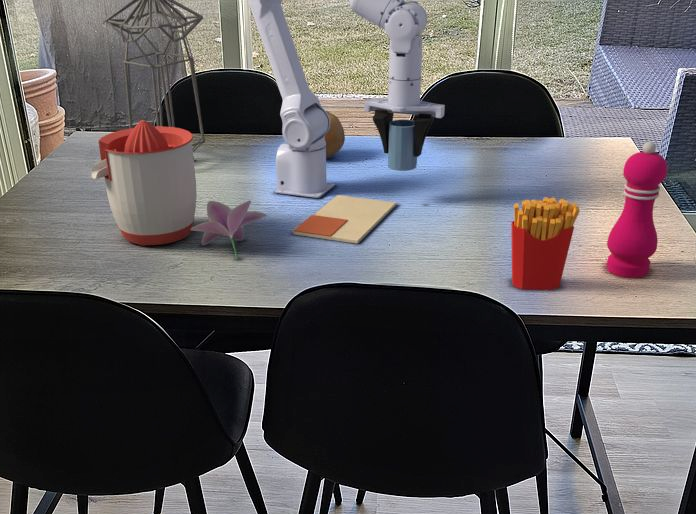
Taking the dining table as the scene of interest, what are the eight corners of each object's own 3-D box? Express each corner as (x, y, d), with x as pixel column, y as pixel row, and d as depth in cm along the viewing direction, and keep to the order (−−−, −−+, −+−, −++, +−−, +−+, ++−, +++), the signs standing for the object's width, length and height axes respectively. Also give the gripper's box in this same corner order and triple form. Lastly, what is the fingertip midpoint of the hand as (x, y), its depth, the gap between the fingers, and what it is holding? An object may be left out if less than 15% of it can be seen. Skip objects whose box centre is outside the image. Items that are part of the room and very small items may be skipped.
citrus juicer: (95, 228, 149) (75, 116, 138) (189, 213, 154) (177, 104, 144) (112, 260, 136) (92, 139, 126) (213, 242, 142) (202, 125, 132)
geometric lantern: (169, 149, 191) (150, -17, 173) (220, 159, 183) (206, -13, 165) (118, 166, 180) (92, -9, 162) (170, 179, 172) (149, -4, 154)
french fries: (507, 289, 124) (516, 206, 117) (504, 277, 127) (512, 196, 121) (570, 290, 123) (582, 206, 116) (565, 278, 126) (577, 196, 120)
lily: (279, 249, 141) (262, 194, 141) (262, 248, 130) (245, 189, 129) (214, 269, 144) (198, 215, 143) (192, 270, 132) (175, 212, 131)
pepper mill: (596, 261, 132) (615, 136, 121) (640, 259, 132) (663, 133, 122) (613, 280, 125) (636, 150, 115) (659, 278, 126) (686, 147, 116)
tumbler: (384, 169, 153) (384, 125, 149) (393, 160, 157) (394, 118, 153) (411, 172, 151) (413, 128, 147) (420, 163, 155) (422, 120, 151)
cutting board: (293, 234, 144) (293, 230, 144) (337, 197, 160) (337, 193, 159) (357, 243, 140) (357, 239, 139) (396, 205, 156) (396, 201, 155)
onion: (303, 150, 187) (302, 105, 182) (347, 151, 186) (347, 106, 181) (296, 163, 179) (295, 117, 174) (342, 164, 178) (342, 117, 173)
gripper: (358, 79, 145) (357, 155, 152) (438, 85, 140) (434, 163, 147) (372, 71, 151) (371, 145, 158) (449, 76, 146) (445, 152, 153)
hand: (402, 153), depth 153 cm, fingers closed on tumbler, 5 cm apart
